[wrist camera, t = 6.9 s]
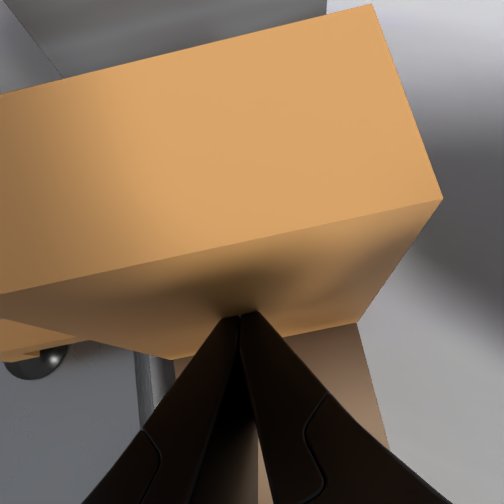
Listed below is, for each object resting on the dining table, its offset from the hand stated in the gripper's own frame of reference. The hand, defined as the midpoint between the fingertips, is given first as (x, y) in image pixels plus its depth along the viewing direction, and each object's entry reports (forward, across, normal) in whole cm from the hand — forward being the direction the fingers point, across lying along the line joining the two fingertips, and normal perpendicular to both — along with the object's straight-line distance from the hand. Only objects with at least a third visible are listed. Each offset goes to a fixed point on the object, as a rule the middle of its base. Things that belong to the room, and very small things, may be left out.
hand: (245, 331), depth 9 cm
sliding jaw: (+5, +3, +2) cm, 6 cm away
